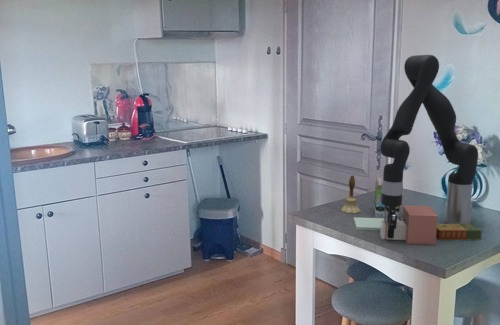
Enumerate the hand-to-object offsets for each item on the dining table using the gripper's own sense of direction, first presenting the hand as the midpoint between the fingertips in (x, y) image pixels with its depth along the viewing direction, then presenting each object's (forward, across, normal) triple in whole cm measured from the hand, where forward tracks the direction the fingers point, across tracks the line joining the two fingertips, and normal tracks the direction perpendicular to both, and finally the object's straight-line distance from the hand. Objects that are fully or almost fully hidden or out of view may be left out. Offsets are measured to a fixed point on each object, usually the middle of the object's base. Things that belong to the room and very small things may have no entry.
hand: (389, 235), depth 191 cm
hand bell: (+1, +32, +12) cm, 34 cm away
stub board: (+1, +13, +2) cm, 13 cm away
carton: (+1, +4, -26) cm, 26 cm away
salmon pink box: (+1, 0, -10) cm, 11 cm away
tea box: (+1, +29, -4) cm, 29 cm away
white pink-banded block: (+1, 0, -4) cm, 4 cm away
